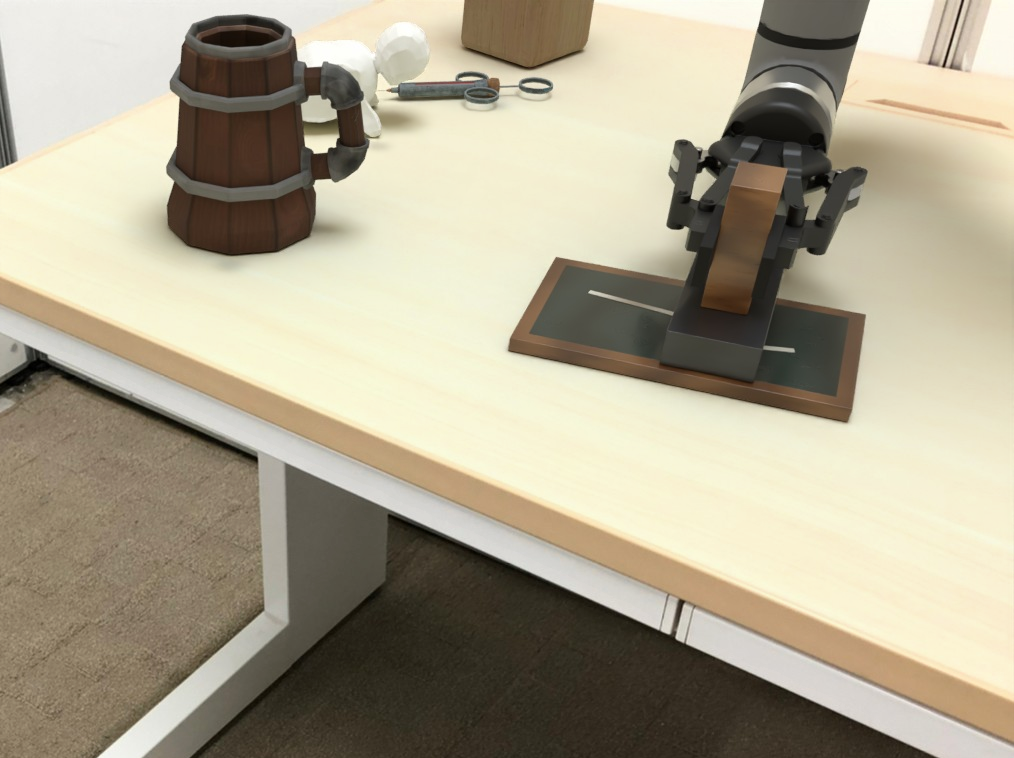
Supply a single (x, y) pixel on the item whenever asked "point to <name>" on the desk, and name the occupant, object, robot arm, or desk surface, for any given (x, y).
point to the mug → (253, 136)
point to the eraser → (730, 286)
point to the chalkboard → (642, 329)
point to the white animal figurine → (367, 68)
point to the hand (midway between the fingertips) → (732, 272)
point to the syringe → (467, 87)
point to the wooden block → (526, 28)
